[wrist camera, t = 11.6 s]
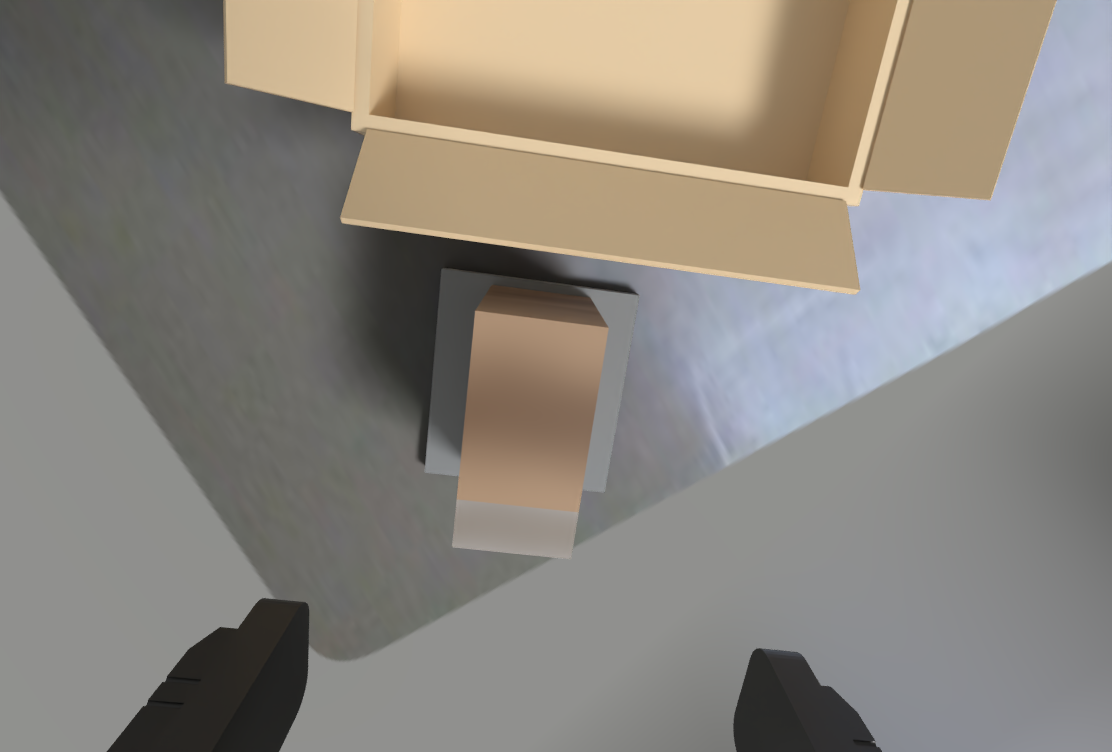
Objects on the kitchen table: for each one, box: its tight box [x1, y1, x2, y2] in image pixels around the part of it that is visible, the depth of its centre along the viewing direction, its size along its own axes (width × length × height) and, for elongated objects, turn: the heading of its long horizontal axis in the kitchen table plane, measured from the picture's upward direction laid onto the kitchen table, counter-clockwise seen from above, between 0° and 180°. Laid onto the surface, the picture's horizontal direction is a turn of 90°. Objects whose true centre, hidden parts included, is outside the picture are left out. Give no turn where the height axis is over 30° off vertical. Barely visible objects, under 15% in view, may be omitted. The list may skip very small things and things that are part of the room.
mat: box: [425, 268, 639, 493], centre depth 27 cm, size 10×9×1 cm
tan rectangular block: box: [452, 285, 609, 559], centre depth 24 cm, size 9×4×7 cm, turn 172°
